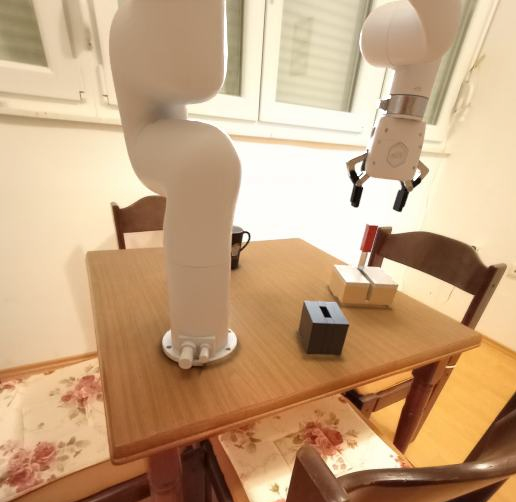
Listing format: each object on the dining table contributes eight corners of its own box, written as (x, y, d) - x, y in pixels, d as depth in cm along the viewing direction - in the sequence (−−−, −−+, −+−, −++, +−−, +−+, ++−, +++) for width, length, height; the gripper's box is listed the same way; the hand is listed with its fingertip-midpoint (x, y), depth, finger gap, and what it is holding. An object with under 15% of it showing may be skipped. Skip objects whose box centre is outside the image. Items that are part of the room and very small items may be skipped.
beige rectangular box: (390, 308, 72) (398, 284, 69) (340, 306, 71) (346, 281, 68) (372, 289, 81) (379, 267, 78) (328, 287, 80) (333, 264, 77)
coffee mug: (213, 271, 82) (213, 232, 77) (208, 260, 89) (208, 224, 84) (255, 270, 85) (258, 233, 80) (248, 260, 92) (250, 225, 87)
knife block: (339, 359, 54) (349, 324, 50) (305, 358, 53) (312, 322, 49) (328, 334, 60) (336, 302, 56) (297, 333, 60) (303, 300, 56)
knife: (361, 289, 77) (379, 226, 69) (353, 288, 77) (370, 225, 68) (357, 284, 79) (374, 223, 71) (349, 284, 79) (365, 222, 71)
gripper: (366, 102, 54) (342, 208, 63) (458, 115, 56) (421, 216, 65) (352, 106, 60) (332, 202, 70) (435, 117, 62) (405, 209, 72)
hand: (375, 208), depth 68 cm, fingers open, 9 cm apart
